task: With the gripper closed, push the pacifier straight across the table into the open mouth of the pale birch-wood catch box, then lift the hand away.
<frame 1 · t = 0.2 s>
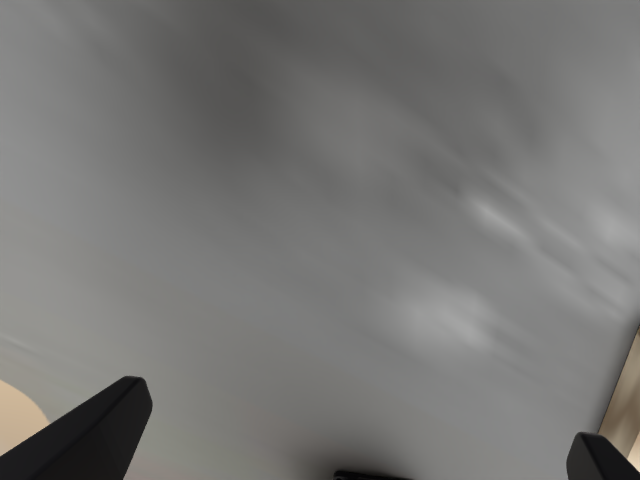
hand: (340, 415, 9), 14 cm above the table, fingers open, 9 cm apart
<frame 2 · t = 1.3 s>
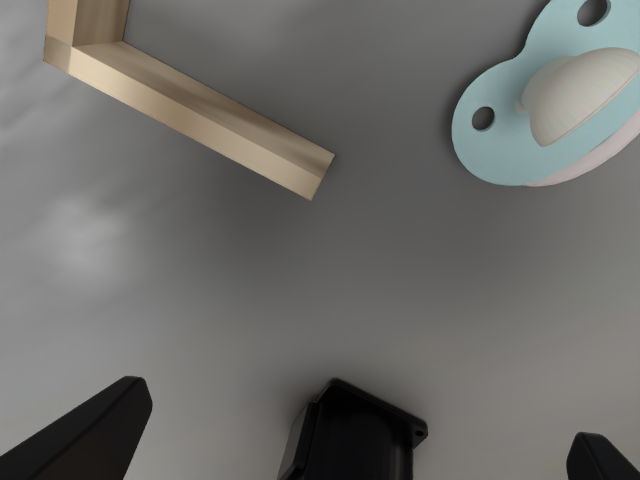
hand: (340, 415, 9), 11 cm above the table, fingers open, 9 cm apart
pacifier: (556, 95, 16), on the table
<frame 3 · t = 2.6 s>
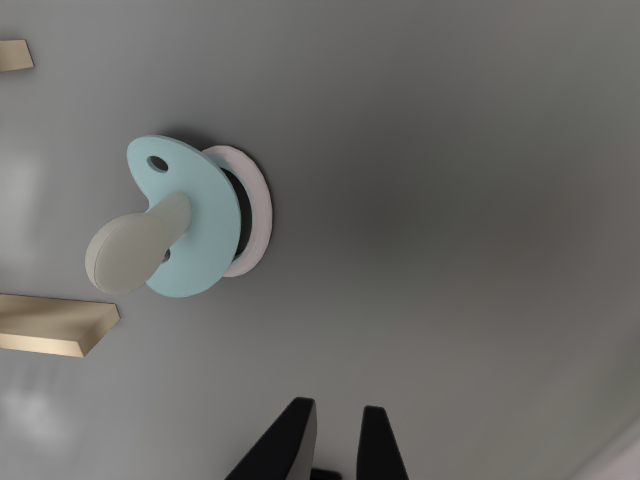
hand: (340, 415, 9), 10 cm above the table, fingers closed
pacifier: (213, 206, 19), on the table
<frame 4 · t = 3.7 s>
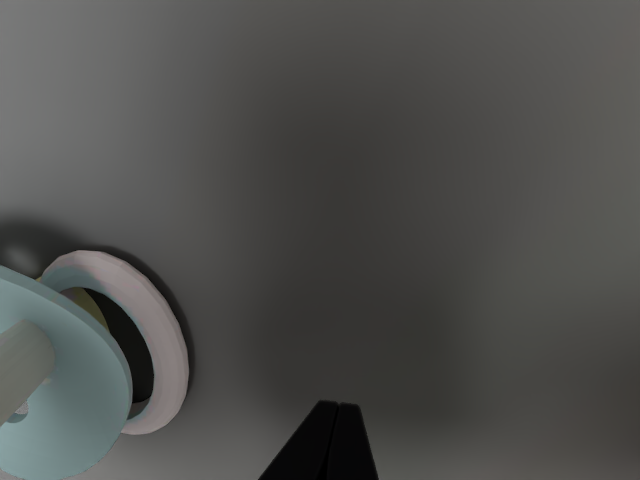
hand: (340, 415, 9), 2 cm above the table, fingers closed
pacifier: (100, 328, 12), on the table
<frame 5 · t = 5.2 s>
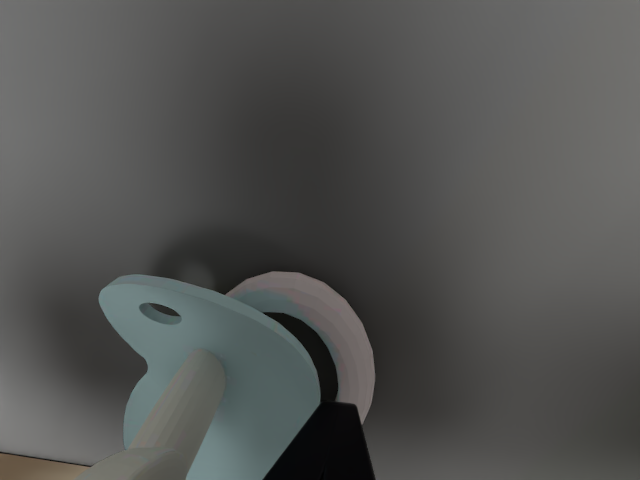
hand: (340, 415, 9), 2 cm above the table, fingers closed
pacifier: (260, 354, 11), on the table, touching gripper
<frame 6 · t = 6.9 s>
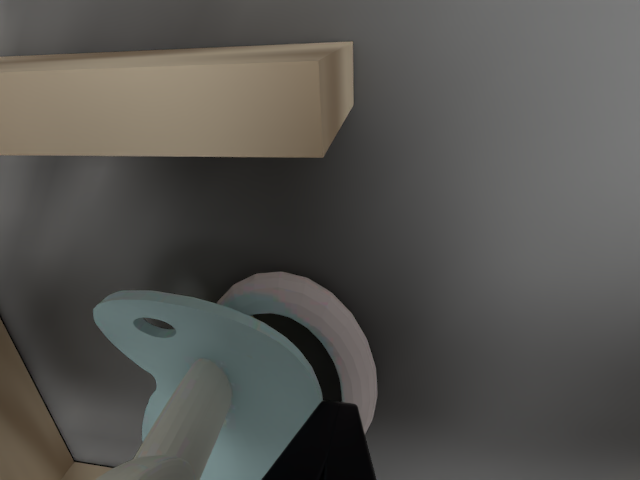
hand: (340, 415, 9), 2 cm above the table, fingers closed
catch box: (149, 342, 11), on the table
pacifier: (264, 358, 11), on the table, touching gripper
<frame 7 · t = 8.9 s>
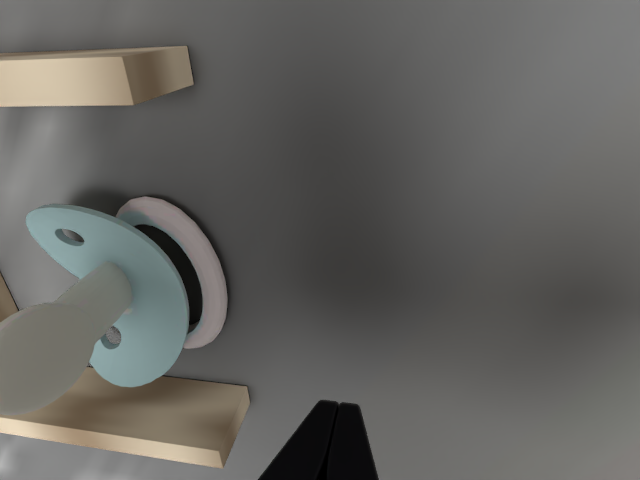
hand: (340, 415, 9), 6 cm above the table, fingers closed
catch box: (88, 255, 16), on the table
pacifier: (159, 268, 16), on the table
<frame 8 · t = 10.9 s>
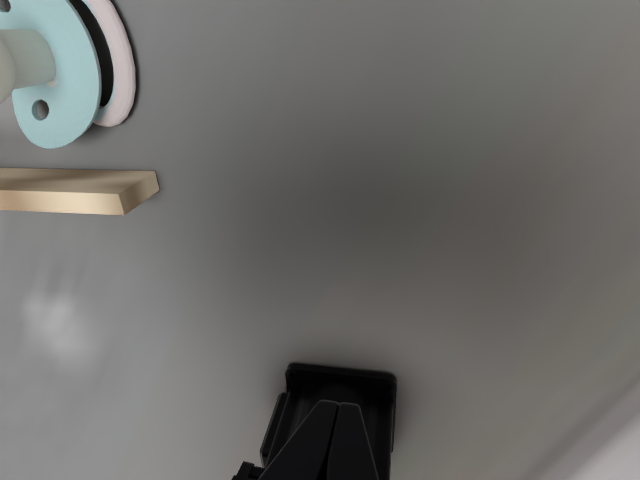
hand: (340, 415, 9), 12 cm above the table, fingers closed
catch box: (13, 41, 19), on the table
pacifier: (81, 52, 19), on the table
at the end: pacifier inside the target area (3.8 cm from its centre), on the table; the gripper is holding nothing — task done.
